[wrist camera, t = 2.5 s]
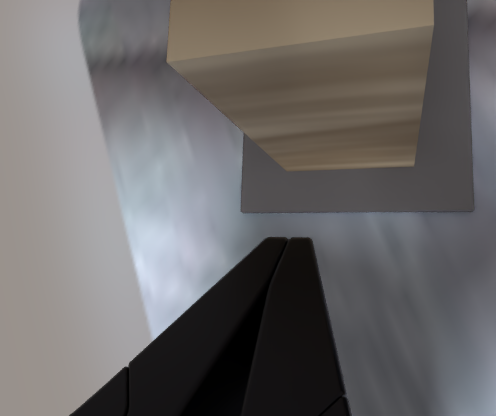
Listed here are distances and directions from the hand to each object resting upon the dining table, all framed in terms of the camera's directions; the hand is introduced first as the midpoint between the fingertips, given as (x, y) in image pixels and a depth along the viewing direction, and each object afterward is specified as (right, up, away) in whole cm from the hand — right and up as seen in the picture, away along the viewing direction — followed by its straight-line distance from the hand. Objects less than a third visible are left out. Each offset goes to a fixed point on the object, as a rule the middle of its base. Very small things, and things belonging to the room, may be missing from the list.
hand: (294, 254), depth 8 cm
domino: (+3, +3, +9) cm, 10 cm away
